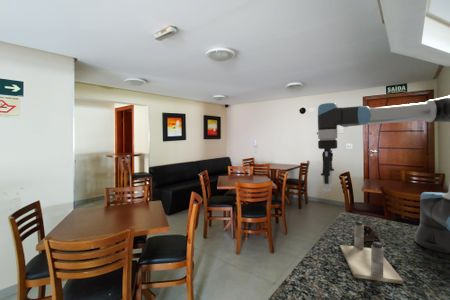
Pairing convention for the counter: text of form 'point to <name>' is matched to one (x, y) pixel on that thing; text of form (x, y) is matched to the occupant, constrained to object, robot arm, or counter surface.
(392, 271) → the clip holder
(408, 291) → the counter surface
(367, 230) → the pottery mug
